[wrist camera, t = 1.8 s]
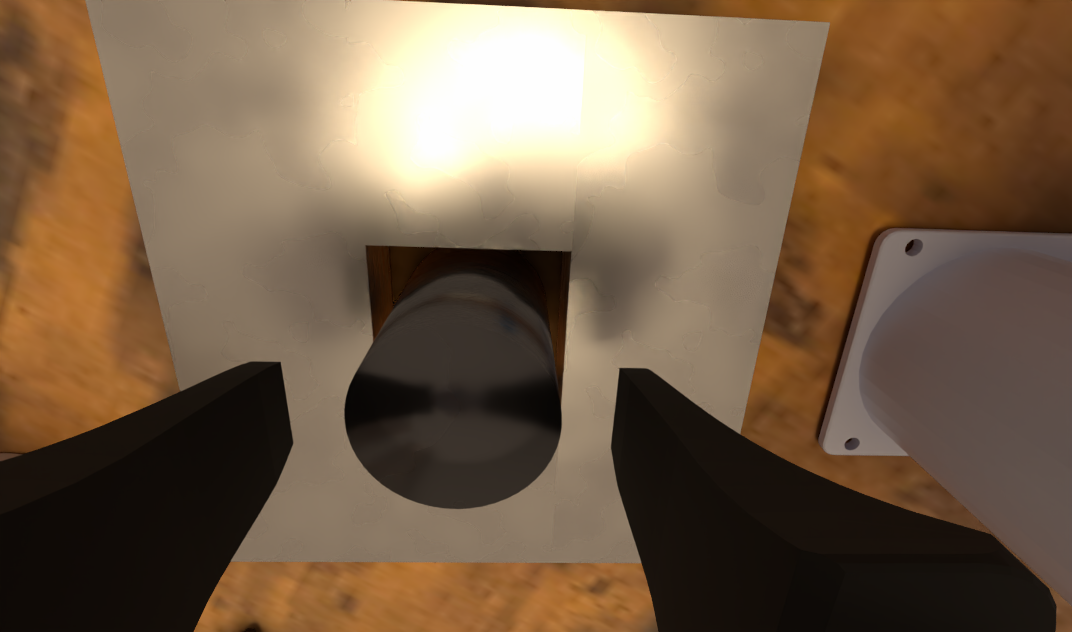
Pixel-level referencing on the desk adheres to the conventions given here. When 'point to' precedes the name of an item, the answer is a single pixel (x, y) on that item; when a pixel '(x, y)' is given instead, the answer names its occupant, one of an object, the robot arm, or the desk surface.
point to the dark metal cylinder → (459, 383)
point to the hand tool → (250, 630)
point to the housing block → (457, 221)
